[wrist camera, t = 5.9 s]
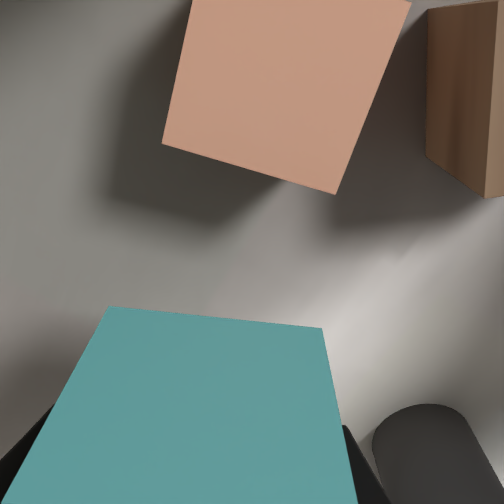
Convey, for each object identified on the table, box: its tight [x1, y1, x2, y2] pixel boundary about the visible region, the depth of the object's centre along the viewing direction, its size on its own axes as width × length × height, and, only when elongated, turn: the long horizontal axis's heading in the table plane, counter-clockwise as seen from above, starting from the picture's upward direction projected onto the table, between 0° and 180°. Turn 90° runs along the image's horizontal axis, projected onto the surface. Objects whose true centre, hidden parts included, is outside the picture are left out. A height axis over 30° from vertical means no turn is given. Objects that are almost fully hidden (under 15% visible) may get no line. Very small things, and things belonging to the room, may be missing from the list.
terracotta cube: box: [162, 0, 411, 195], centre depth 14 cm, size 5×5×5 cm
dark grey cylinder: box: [372, 404, 504, 504], centre depth 22 cm, size 5×5×5 cm
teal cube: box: [1, 306, 358, 504], centre depth 10 cm, size 5×5×5 cm
